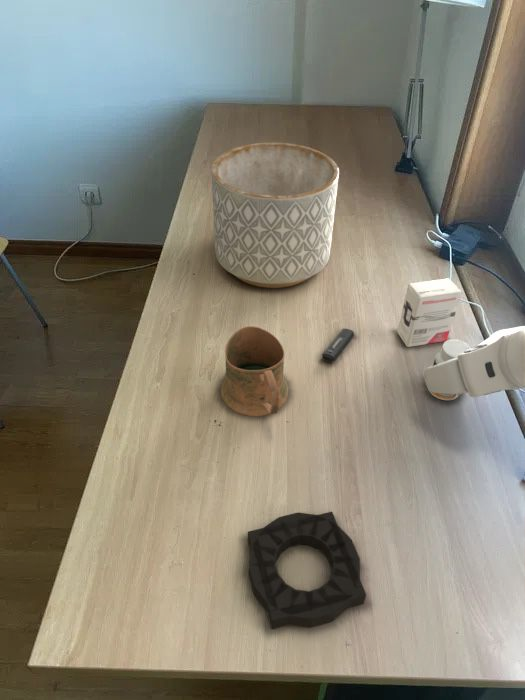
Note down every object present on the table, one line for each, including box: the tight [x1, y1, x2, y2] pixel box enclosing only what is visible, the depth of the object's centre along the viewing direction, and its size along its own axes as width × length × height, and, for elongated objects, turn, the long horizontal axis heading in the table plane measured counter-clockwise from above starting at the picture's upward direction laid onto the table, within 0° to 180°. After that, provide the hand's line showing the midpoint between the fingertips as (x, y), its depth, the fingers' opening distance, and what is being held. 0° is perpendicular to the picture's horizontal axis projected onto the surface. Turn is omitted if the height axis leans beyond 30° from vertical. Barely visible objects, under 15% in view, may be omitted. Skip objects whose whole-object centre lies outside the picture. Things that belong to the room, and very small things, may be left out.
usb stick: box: [321, 328, 355, 363], centre depth 106 cm, size 10×3×2 cm, turn 148°
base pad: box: [247, 511, 367, 630], centre depth 73 cm, size 14×14×2 cm
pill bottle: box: [427, 338, 472, 401], centre depth 95 cm, size 6×6×10 cm
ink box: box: [396, 277, 463, 348], centre depth 105 cm, size 8×5×12 cm, turn 104°
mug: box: [220, 325, 289, 417], centre depth 91 cm, size 12×18×12 cm, turn 15°
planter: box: [211, 142, 340, 289], centre depth 120 cm, size 26×26×22 cm
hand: (454, 364), depth 94 cm, fingers open, 8 cm apart
